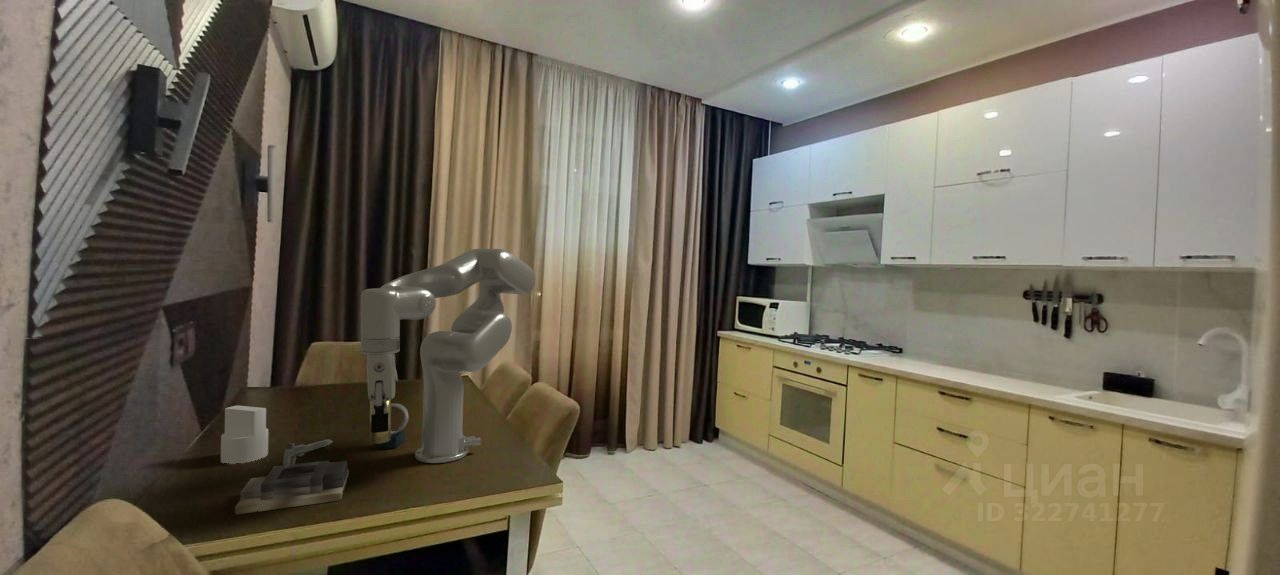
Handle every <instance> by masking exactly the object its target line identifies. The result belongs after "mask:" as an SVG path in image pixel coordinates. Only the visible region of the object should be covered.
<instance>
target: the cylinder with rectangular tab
mask: <svg viewBox="0 0 1280 575" xmlns="http://www.w3.org/2000/svg"><path fill="white" fill-rule="evenodd" d="M268 454H269V429H268V428H267V408H266V407H256V406H247V405H233V406H229V407H225V408H224V433H222V434H221V435H220V463H222V464H224V463H227V464H226V465H237V464H236V463H241V464H245V463H246V462H247V463H251V461H252V462H255V460H256V461H258V459H259V460H262V459H264V458H266V457H267V456H268ZM261 458H262V459H261ZM228 463H229V464H228ZM247 463H246V464H247Z"/></svg>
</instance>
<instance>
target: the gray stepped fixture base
mask: <svg viewBox="0 0 1280 575" xmlns="http://www.w3.org/2000/svg"><path fill="white" fill-rule="evenodd" d="M349 472H350V471H349V469H348V460H342V461H335V462H331V461H330V460H321V461H311V462H310V461H309V462H303V463H302V462H301V463H295V464H291V465H283V464H282V465H275V466H274V465H273V467H272V469H271V470H270V471H269V472H268V474H267V476H261V477H252V478H250V479H249V481H248V482H247V483H246V484H245V485H244V487H243V489H241V491H240V499H239V501H238V502H237V504H235V506H234V516H235V515H243V514H249V513H258V512H264V511H265V512H266V511H272V510H279V509H287V508H294V507H302V506H307V505H309V506H310V505H316V504H317V505H318V504H322V503H329V502H338V501H341V500H342V497H343V494H344V492H343V491H345V488H346V485H347V481H348V479H347V478H349ZM257 511H258V512H257Z"/></svg>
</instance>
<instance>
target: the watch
mask: <svg viewBox="0 0 1280 575" xmlns="http://www.w3.org/2000/svg"><path fill="white" fill-rule="evenodd" d="M392 407H393V408H397V409H399V410H400V411H401V412H402V413H403V420H402V422H401V424H400V426H399V427H398V429H397V430H396V429H395V430H394V429H391V440H390V441H388V442H385V443H379V444H378V449H379V448H395V449H394V450H396V449H397V448H398V446H399V447H400V446H401V445H402V444H403V443H405V432H406V431H405V430H404V429H405V427H406V425H407V424H408V422H409V419H410V418H409V411H408V409H407V408H406V407H405V406H404V405H403V404H401V403H398V402H397V403H396V402H393V403H392V402H391V408H392Z"/></svg>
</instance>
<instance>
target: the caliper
mask: <svg viewBox="0 0 1280 575" xmlns="http://www.w3.org/2000/svg"><path fill="white" fill-rule="evenodd" d="M333 442H334V441H333V440H331V439H324V440H320V441H315V442H312V443H308V444H299V445H298V444H297V445H296V444H295V442H289V443H286V448H285V449H284V453H283V458H282V461H283V462H282V465H291V464H296V460H297V458H301V457H305V456H306V455H305V453H308V452H311V451H314V450H317V449H320V448H324V447H325V448H326V447H328V446H329V445H330V444H332V443H333ZM327 445H328V446H327Z"/></svg>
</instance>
